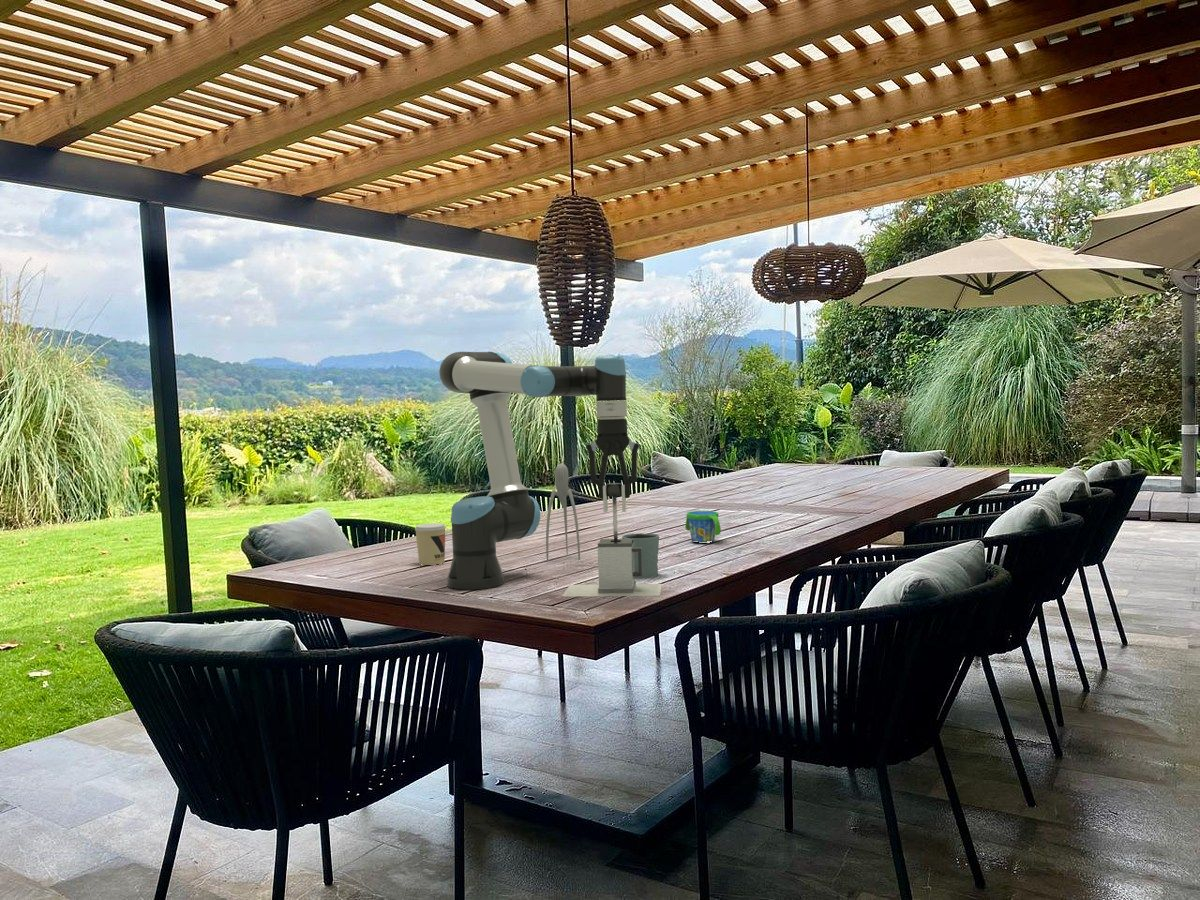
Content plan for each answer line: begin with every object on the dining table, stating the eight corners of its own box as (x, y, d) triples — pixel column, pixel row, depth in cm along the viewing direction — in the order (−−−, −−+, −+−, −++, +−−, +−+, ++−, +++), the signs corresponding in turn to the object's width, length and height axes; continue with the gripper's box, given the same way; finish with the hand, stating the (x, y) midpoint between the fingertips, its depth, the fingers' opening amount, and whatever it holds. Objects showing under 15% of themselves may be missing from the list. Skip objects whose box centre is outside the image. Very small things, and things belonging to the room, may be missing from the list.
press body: (598, 593, 227) (596, 544, 227) (601, 586, 236) (600, 538, 236) (641, 592, 226) (640, 543, 226) (643, 585, 235) (642, 538, 234)
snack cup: (729, 543, 304) (729, 513, 304) (703, 547, 299) (702, 516, 299) (702, 538, 318) (702, 509, 317) (677, 541, 313) (676, 511, 312)
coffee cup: (437, 566, 279) (436, 527, 278) (410, 565, 282) (409, 527, 281) (452, 561, 288) (451, 523, 287) (426, 560, 291) (424, 522, 290)
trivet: (562, 601, 225) (562, 596, 225) (570, 589, 239) (569, 584, 239) (659, 600, 223) (659, 595, 223) (662, 588, 237) (661, 583, 237)
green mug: (629, 584, 244) (628, 539, 243) (618, 577, 253) (617, 534, 253) (665, 580, 246) (664, 536, 246) (653, 574, 256) (651, 531, 255)
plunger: (603, 558, 228) (600, 485, 227) (605, 554, 234) (603, 483, 233) (627, 558, 228) (625, 484, 227) (629, 553, 234) (626, 482, 233)
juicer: (583, 555, 290) (580, 461, 289) (580, 560, 281) (576, 463, 280) (551, 556, 291) (547, 462, 290) (546, 561, 282) (543, 464, 281)
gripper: (576, 419, 226) (579, 513, 227) (645, 417, 224) (648, 512, 226) (580, 418, 234) (583, 510, 235) (646, 416, 232) (649, 508, 233)
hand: (614, 511), depth 230 cm, fingers closed on plunger, 4 cm apart
